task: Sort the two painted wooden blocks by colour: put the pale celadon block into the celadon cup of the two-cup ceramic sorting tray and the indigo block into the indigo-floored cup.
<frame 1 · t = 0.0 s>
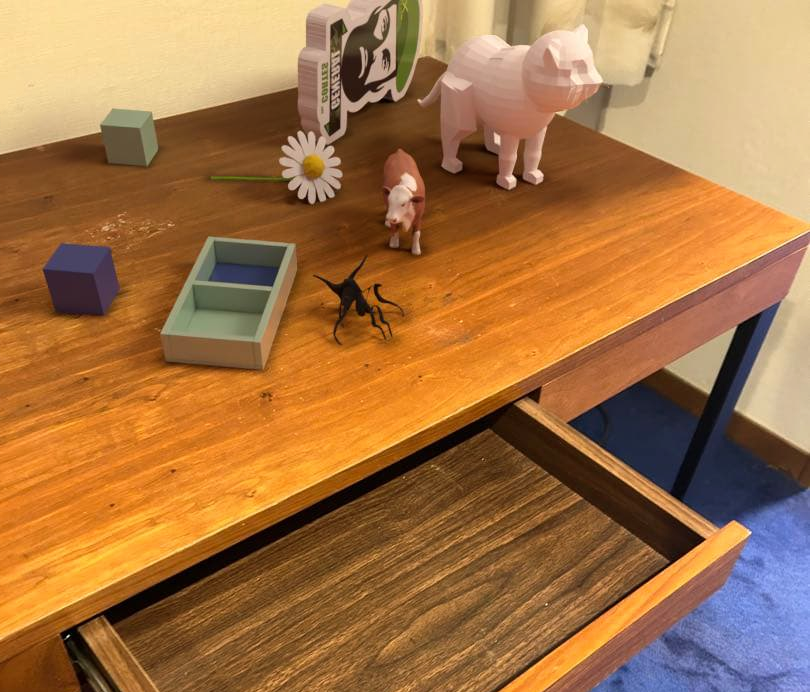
sorting tray: (236, 314, 80), on the table
creature: (364, 327, 79), on the table
cutout: (363, 117, 111), on the table
bull figurine: (401, 242, 90), on the table
celadon block: (134, 158, 100), on the table
decorative flower: (275, 195, 96), on the table
indigo block: (88, 302, 80), on the table
cat figurine: (491, 172, 102), on the table
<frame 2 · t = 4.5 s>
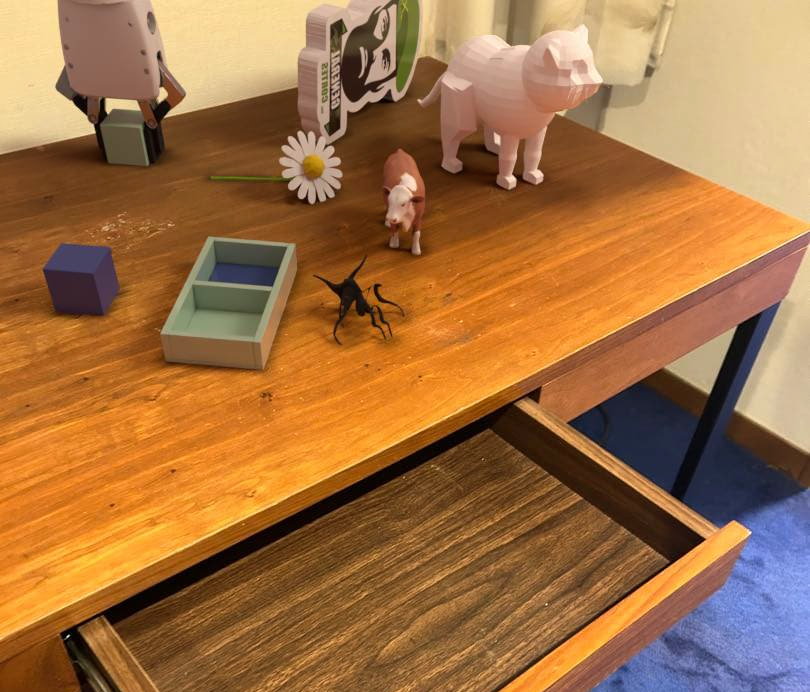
hand: (133, 155, 100), 0 cm above the table, tool pointing down, fingers closed on celadon block, 4 cm apart
celadon block: (134, 158, 100), on the table, touching gripper
everything else where it was.
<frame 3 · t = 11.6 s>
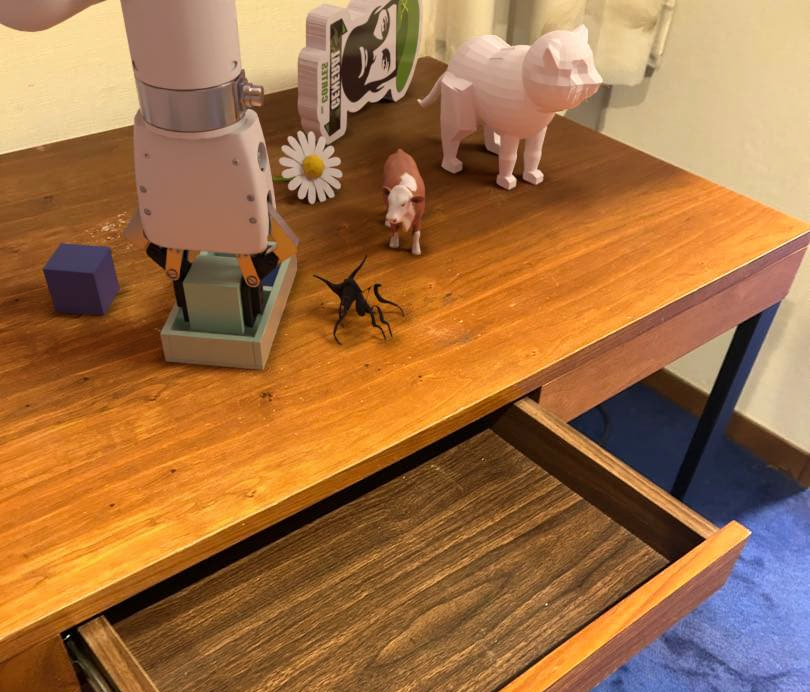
hand: (222, 314, 75), 3 cm above the table, tool pointing down, fingers closed on celadon block, 4 cm apart
celadon block: (223, 317, 75), point 2 cm above the table, touching gripper
everything else where it was.
when the fingers open (5 cm above the table, at t = 21.2 s): celadon block drops 4 cm, resting on sorting tray.
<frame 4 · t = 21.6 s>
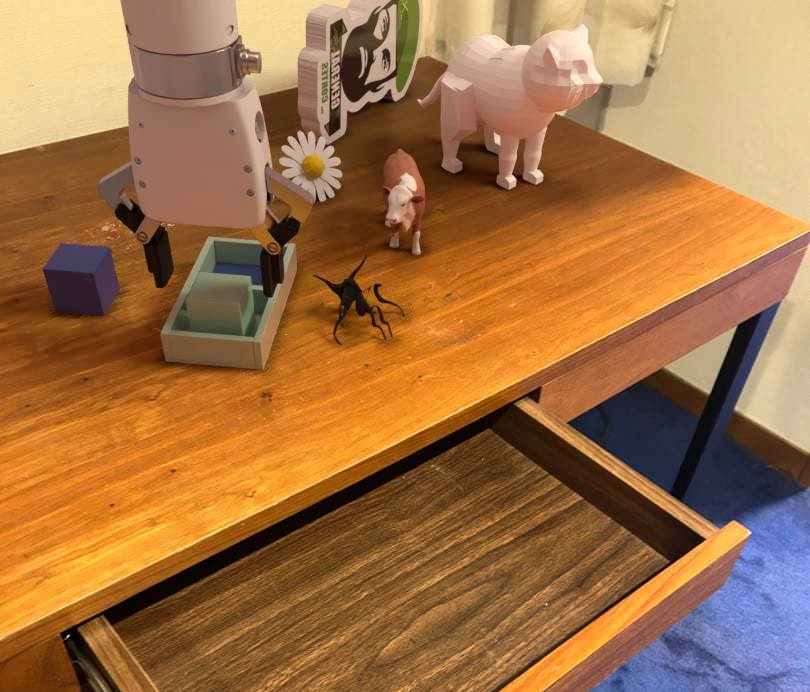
hand: (218, 283, 73), 6 cm above the table, tool pointing down, fingers open, 8 cm apart
celadon block: (225, 333, 77), point 1 cm above the table, touching sorting tray
everything else where it was.
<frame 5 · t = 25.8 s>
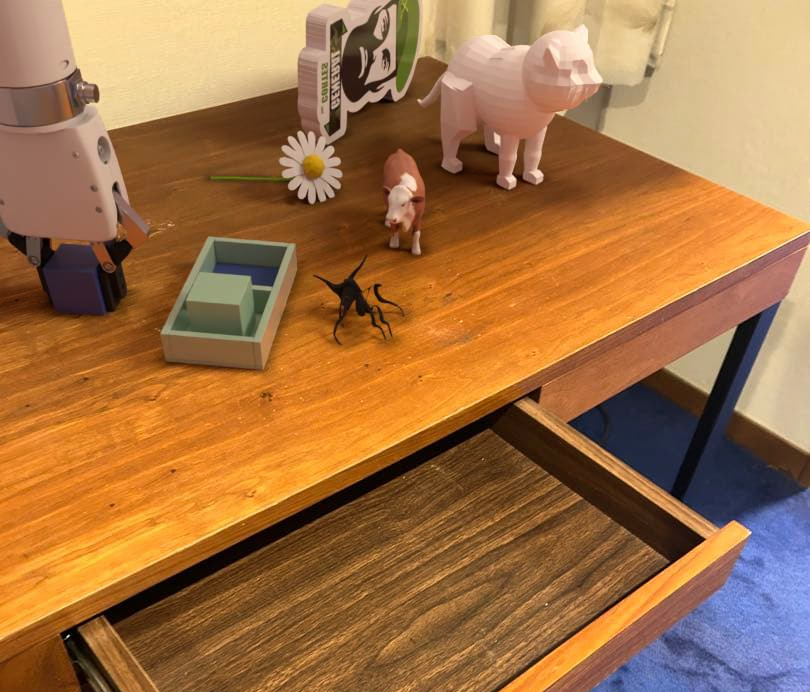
hand: (87, 298, 80), 0 cm above the table, tool pointing down, fingers closed on indigo block, 4 cm apart
indigo block: (88, 302, 80), on the table, touching gripper
everything else where it was.
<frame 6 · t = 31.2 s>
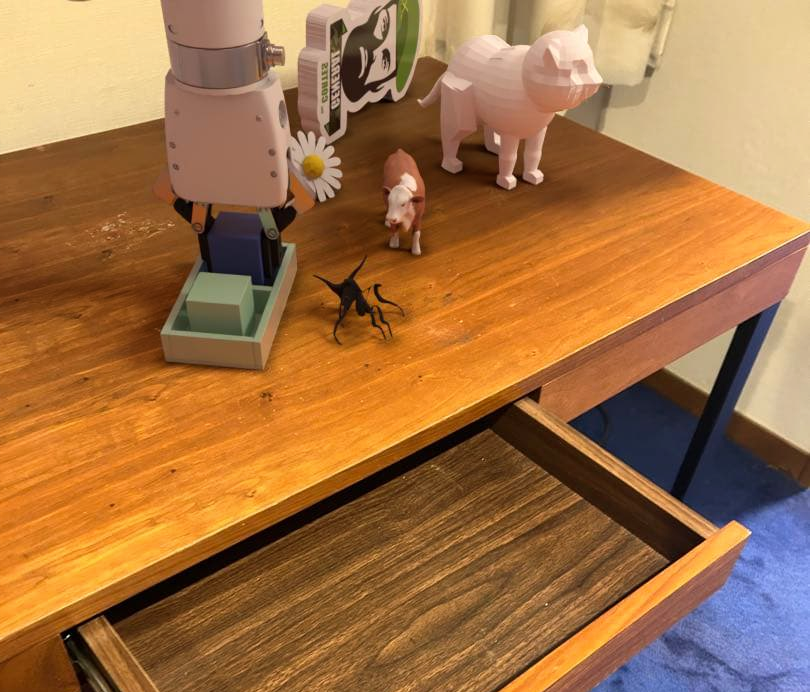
hand: (243, 267, 80), 3 cm above the table, tool pointing down, fingers closed on indigo block, 4 cm apart
indigo block: (243, 270, 81), point 2 cm above the table, touching gripper
everything else where it was.
when the fingers open (4 cm above the table, at t = 40.8 s): indigo block drops 3 cm, resting on sorting tray.
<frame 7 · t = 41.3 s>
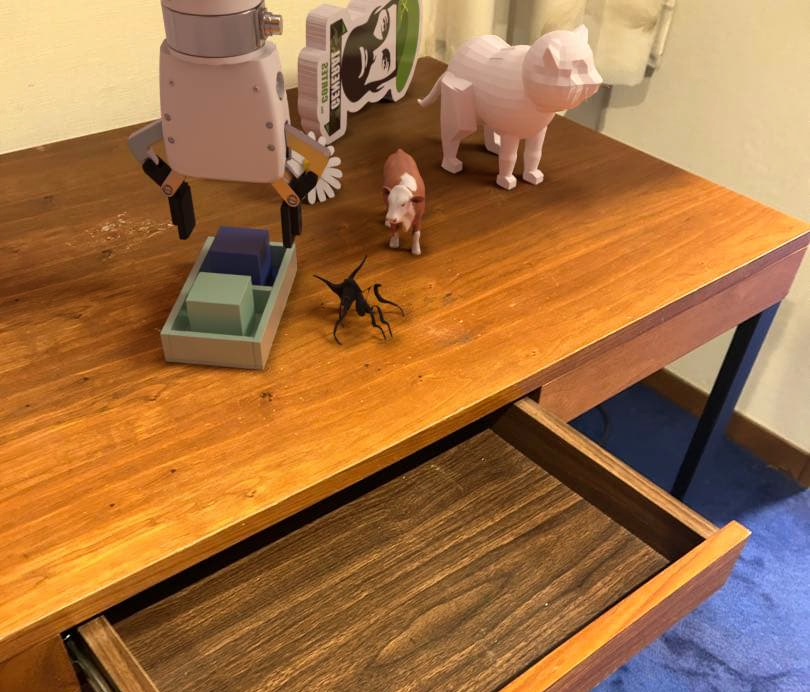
hand: (239, 236, 78), 6 cm above the table, tool pointing down, fingers open, 9 cm apart
indigo block: (244, 284, 82), point 1 cm above the table, touching sorting tray
everything else where it was.
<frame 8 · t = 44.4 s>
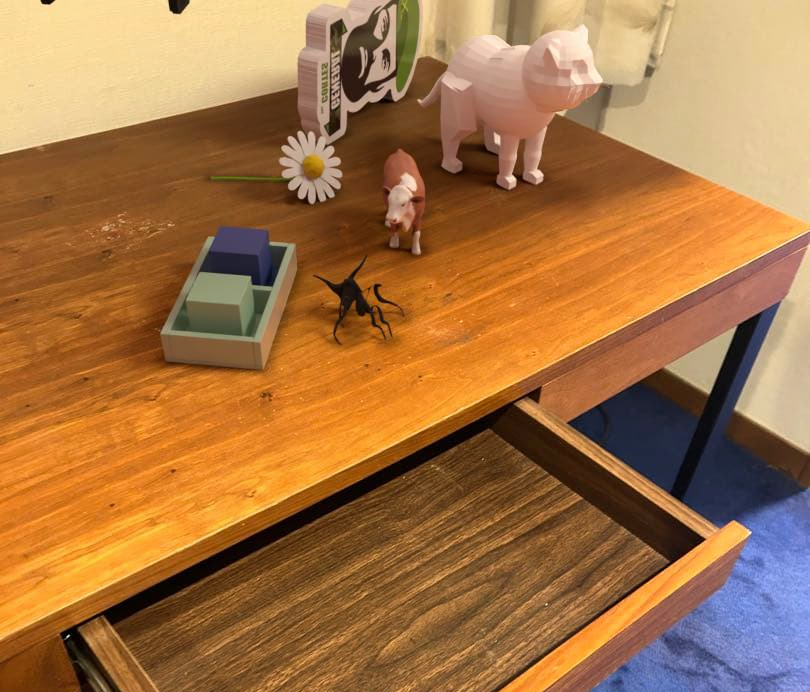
hand: (117, 3, 64), 24 cm above the table, tool pointing down, fingers open, 9 cm apart
nothing on the table moved.
at the end: celadon block inside the target area in the sorting tray (0.1 cm from its centre), point 0.6 cm above the sorting tray's base; indigo block inside the target area in the sorting tray (0.2 cm from its centre), point 0.8 cm above the sorting tray's base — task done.
